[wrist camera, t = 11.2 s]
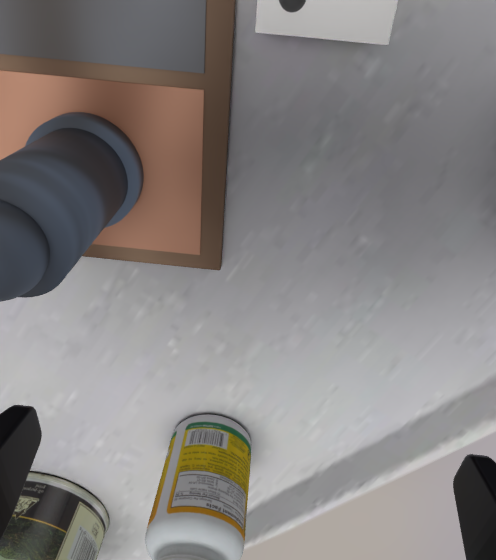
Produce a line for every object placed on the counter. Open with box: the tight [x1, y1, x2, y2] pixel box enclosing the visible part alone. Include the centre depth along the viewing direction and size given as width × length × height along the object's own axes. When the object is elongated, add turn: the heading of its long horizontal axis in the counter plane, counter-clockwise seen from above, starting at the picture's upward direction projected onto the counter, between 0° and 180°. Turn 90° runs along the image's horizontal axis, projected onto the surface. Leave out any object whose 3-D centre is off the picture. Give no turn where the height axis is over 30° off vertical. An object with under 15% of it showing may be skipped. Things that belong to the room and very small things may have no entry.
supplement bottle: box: [145, 414, 251, 560], centre depth 25 cm, size 5×5×10 cm
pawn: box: [0, 112, 144, 301], centre depth 15 cm, size 5×5×9 cm
